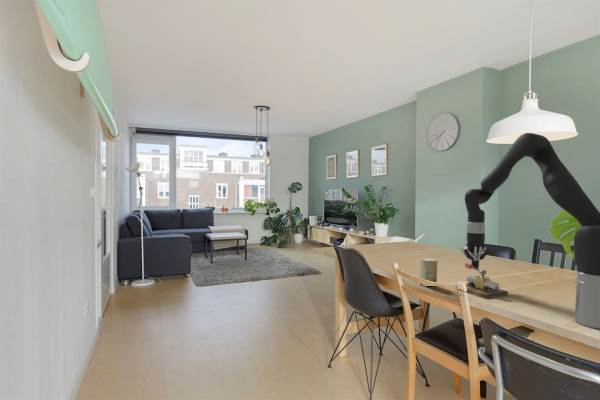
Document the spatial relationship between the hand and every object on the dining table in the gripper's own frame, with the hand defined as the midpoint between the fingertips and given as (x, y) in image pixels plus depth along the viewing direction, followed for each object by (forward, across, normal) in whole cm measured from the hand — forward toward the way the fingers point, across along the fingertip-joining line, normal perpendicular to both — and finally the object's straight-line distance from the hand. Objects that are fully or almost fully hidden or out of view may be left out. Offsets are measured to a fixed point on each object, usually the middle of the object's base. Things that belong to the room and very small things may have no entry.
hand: (475, 268), depth 156 cm
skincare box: (+8, +22, -1) cm, 24 cm away
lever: (0, +3, +5) cm, 6 cm away
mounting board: (+8, +3, +10) cm, 13 cm away
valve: (+7, +4, +11) cm, 13 cm away
